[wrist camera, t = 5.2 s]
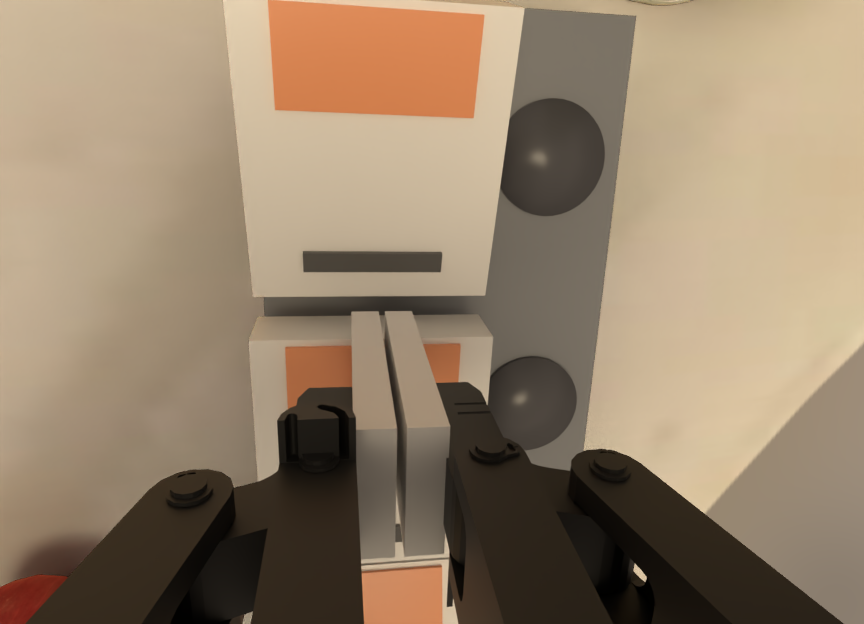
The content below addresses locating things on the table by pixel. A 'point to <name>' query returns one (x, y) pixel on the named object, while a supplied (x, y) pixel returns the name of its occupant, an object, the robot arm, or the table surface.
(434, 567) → the panel
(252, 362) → the rocker
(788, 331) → the table surface
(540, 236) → the power strip
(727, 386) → the table surface
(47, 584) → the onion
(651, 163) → the table surface
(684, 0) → the coffee can
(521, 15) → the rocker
